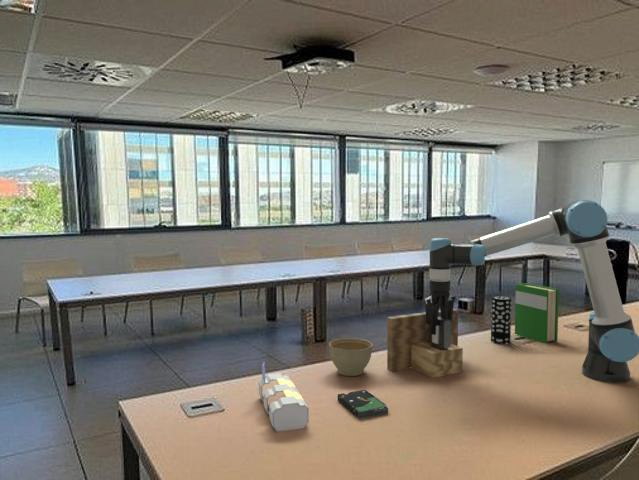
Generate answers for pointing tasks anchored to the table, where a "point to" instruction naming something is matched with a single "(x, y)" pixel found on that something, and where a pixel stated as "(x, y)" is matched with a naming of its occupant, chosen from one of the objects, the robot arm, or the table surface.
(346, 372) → the planter bowl
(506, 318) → the spotted tube
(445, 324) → the grey slab
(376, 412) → the disk drive
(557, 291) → the hardback book
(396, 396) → the table surface
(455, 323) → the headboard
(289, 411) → the white yellow segmented bar
